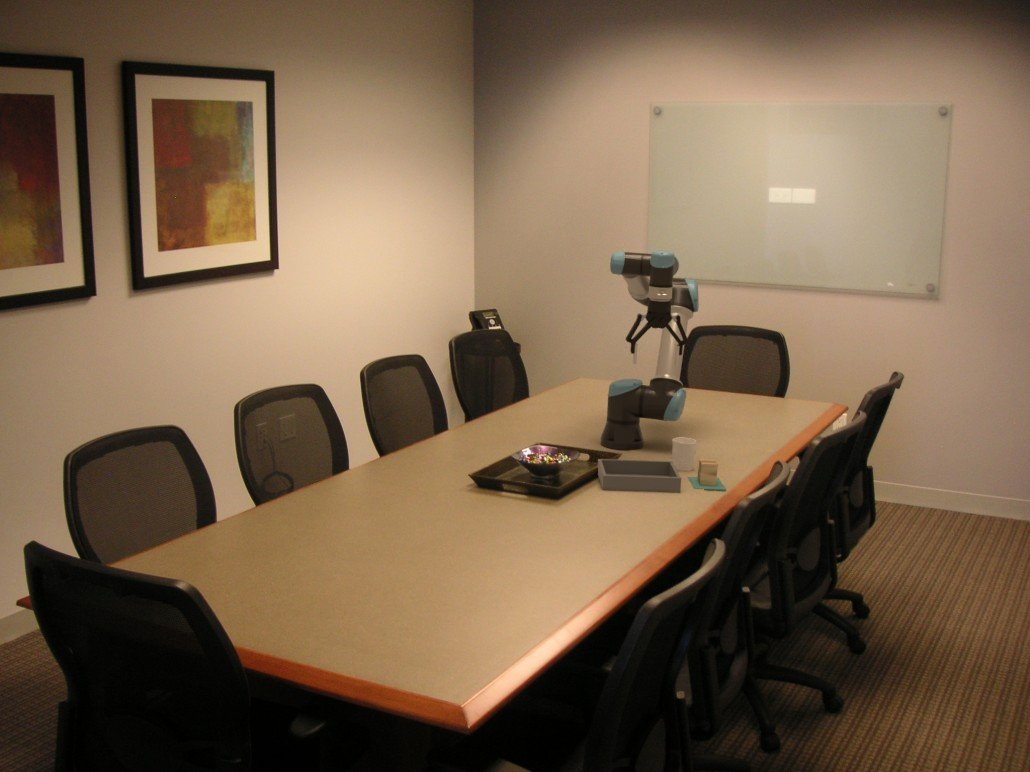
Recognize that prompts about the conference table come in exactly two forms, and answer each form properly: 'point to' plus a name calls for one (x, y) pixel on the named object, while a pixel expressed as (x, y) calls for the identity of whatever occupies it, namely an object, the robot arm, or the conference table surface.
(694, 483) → the teal mat
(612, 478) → the crate
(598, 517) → the conference table surface
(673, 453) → the white cup
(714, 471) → the maple block
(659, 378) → the robot arm
